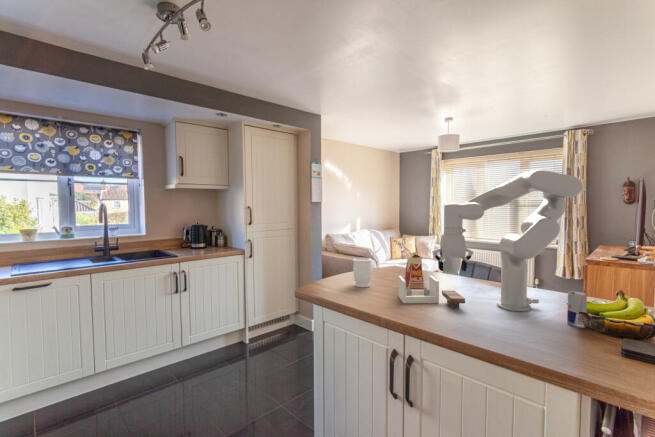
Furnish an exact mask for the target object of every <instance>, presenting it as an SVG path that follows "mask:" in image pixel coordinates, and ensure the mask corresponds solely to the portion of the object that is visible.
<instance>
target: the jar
mask: <svg viewBox="0 0 655 437" xmlns="http://www.w3.org/2000/svg"><path fill="white" fill-rule="evenodd" d="M352 261H353V264H352V265H353V266H352V272H353V278H354V281H355V284H354V285H355V287H358V288H369V287H371V284H370V283H371V280H372V274H373V264H372V261H373V260H372V258H370V257H364V256H363V257H355V258H353V259H352Z"/></svg>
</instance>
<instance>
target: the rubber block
mask: <svg viewBox="0 0 655 437" xmlns="http://www.w3.org/2000/svg"><path fill="white" fill-rule="evenodd" d="M446 304H448V305H449V307H451V308H452V309H453V310H460V303H451V302H449V301H448V300H447V299H446Z"/></svg>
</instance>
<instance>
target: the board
mask: <svg viewBox="0 0 655 437" xmlns="http://www.w3.org/2000/svg"><path fill="white" fill-rule="evenodd" d="M441 296H443V297H444V298H445V299H446V301H447V300H448V301H449V302H451V303H459V304H466V298H465V297H464V296H462V295H461V294H460V293H458V292H457V291H456V290H441Z"/></svg>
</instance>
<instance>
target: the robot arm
mask: <svg viewBox="0 0 655 437" xmlns="http://www.w3.org/2000/svg"><path fill="white" fill-rule="evenodd" d="M583 187H584V186H583V183H582V180H580V179H579V178H578V177H576V176H573V175H570V174H564V173H561V172H560V173H559V172H555V171H552V170H546V169H534V170H529V171H525V172H523V173H520V174H518V175H516V176H515V177H513V178H511V179H510V180H507V181H505V182H504V183H503V182H502V183H501V184H500V185H497V186H495V187H493V188H491V189H489V190H487V191H485V192H482V193H481V194H478V195H477V196H475V197H471V198H470V199H469V200H467V201H465V202H463V203H459V202H455V203H454V202H449V203H448V202H447V203H445V204H444V205H443V233H442V234H441V236H440V242H439V247H438V248H435V249H434V250H433V251H432V254H433V257H434V258H435V259H436V260H437V262H438V263H437V265H438V269H439V271H441V272H443V271H444V260H445V259H446V258H447V259H449V258H450V259H453V258H454V259H456V258H457V259H458V258H459V259H461V266H460V267H461V270H462V271H463V272H466V271H467V269H468V262H469V260H470V259H472V256H473V255H474V251H473V250H471V249H469V248H467V247H466V240H465V235H464V233H465V232H466V231H467V229H466V228H463V224H464V223H463V222H464V221H463V220H470V221H477V220H480V219H482V217H483V216H484V214H485V211H487V210H489V209H493V208H497V207H502V206H506V205H508V204H511V203H512V202H514V201H516V200H518V199H520V198H523V197H524V196H526V195H528V194H531V193H532V192H542V195H543V200H542V203H541V204H540V205H539V206H538V208H537V209H536V210H534V212H532V213H531V214H530V215H528V217H527V218H525V219H524V220H523V222H521V225H520V231H521V233H522V234H519V233H507V234H505V235H504V236H503V237H501V239H500V242H499V251H500V261H501V264H500V265H501V267H500V270H501V271H500V272H501V273H500V274H501V275H500V276H501V278H500V300H497V301H496V305H497V306H498V307H499V308H501V309H504V310H508V311H511V312H512V311H513V312H529V311H531V310H532V306H531V304H539V303H540V301H539V299H538V298H532V297H527V296H528V292H527V291H528V260H531V259H533V258H535V257H536V256H538V255H539V254H540V253H542V252H543V251H544V250H545V249H546V248H547V247H549V245H550V244H552V243H553V242H554V241H555V240H556V238H557V237H558V236H559V233H560V230H561V228H560V227H561V226H560V223H559V222H558V221H559V219H560V218H562V216H563V215H564V213H565V211H566V204H567V203H566V202H567V201H566V199H571V198H575V197H577V196H578V195H579V194H580V193H582V191H583ZM466 253H468V254H466ZM438 254H439V255H440V256H438Z"/></svg>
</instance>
